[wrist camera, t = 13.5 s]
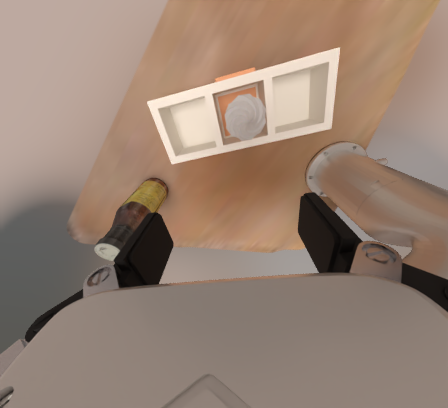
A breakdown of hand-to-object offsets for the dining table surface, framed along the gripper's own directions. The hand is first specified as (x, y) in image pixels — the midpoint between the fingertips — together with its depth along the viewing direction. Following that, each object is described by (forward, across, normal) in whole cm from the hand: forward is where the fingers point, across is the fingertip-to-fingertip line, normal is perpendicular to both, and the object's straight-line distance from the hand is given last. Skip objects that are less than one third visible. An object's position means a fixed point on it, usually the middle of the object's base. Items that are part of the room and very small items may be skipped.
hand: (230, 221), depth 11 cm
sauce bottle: (+28, +20, +9) cm, 35 cm away
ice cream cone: (+26, -3, -4) cm, 27 cm away
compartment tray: (+28, -2, -5) cm, 28 cm away
